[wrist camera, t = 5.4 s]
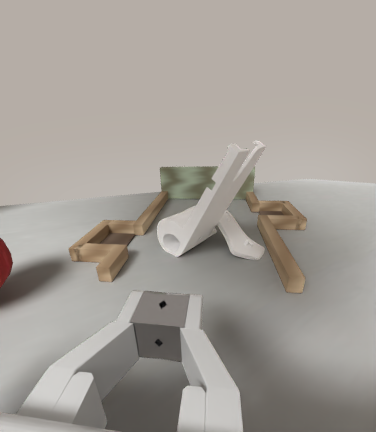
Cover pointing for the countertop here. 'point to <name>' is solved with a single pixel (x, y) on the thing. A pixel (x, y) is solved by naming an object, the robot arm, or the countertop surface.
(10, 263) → the onion
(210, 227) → the plastic part
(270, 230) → the trap lane
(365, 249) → the countertop surface
